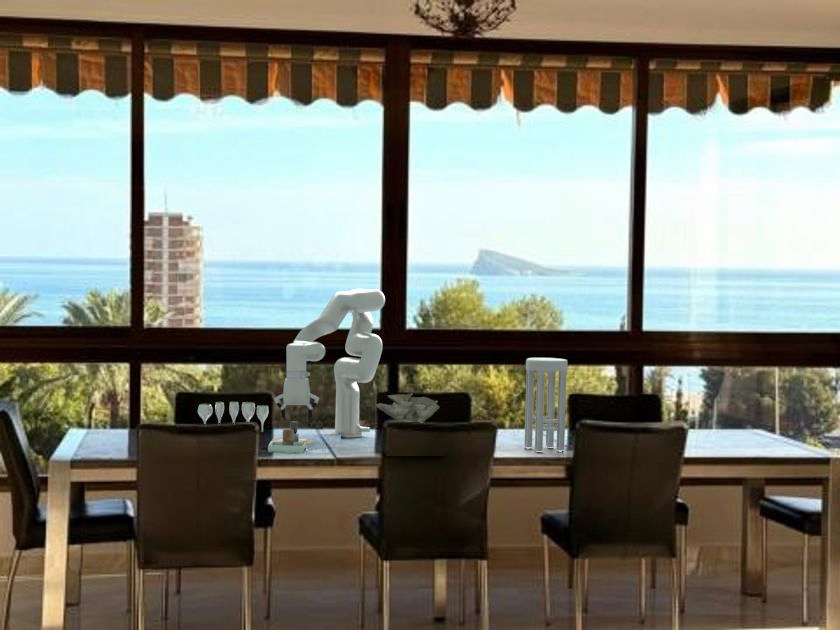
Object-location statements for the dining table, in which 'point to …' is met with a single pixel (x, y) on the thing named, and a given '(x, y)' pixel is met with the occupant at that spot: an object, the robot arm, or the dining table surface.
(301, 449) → the tray
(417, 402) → the coral
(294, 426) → the crank
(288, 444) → the peg
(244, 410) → the goblet set
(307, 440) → the plate
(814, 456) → the dining table surface
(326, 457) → the dining table surface
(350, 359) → the robot arm
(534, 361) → the stool
